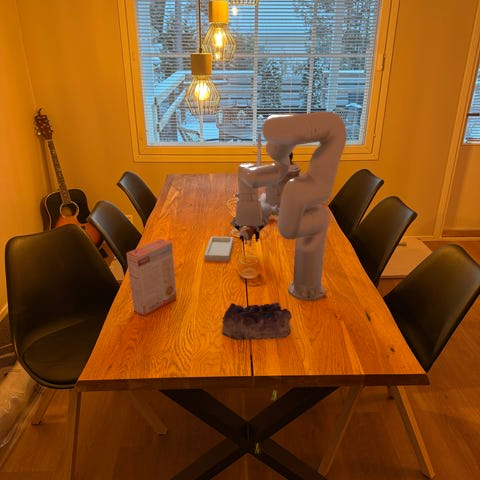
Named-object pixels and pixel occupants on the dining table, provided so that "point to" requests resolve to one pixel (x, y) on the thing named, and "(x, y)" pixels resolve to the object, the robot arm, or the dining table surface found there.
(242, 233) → the bull figurine
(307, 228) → the robot arm
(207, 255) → the tray
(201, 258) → the dining table surface
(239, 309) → the geode
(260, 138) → the candlestick
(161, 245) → the cracker box
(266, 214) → the chubby cartoon animal
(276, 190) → the cookie jar
